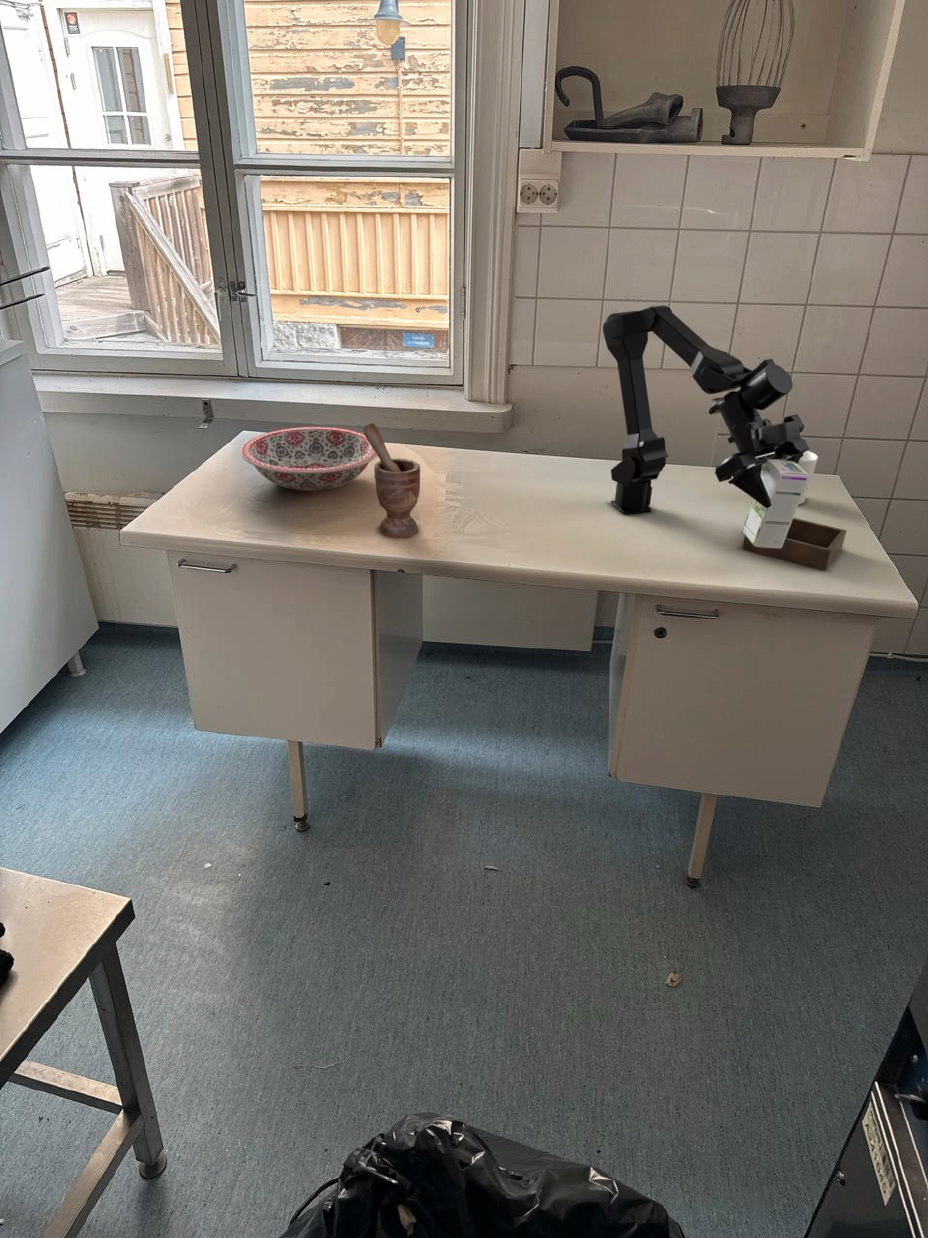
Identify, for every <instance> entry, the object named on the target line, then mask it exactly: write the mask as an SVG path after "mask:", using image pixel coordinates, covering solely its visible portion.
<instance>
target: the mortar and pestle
mask: <svg viewBox="0 0 928 1238" xmlns="http://www.w3.org/2000/svg"><path fill="white" fill-rule="evenodd" d="M362 432H363V434H364V435H365V437H366V438H367V440H368V442H369V443H370V445H371V447H372V448H373V449H374V451H375V452H376V454H377V458H379V461H378V462H376V463H375V464H373V471H374V483H375V484H374V486H375V487H374V488H375V494H376V498H377V501H378V504H379V506H380V507H381V508H382V509H383V510H384V511H385V512H386V515H385V517H384V518H382V519H381V521H380V524H379V531H380V533H382V534H383V535H386V536H389V537H413V535H414V534H416V533H417V531H418V524H417V522H416V520H415V519H414V518H413V517H412V516H411V511H412V510H414V508H415V507H416V505H417V504H418V500H419V496H420V492H421V464H420V463H419V462H417V461H414V460H413V459H407V458H391V455H390V453H389V452H388V449H387V447H386V444H385V441H384V439H383V437H382V434H381V432H380V430H379V428H378V427H377V425H376V423H374V422H370V423H368V424H366V425H364V426H363V427H362Z"/></svg>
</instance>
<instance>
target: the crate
mask: <svg viewBox="0 0 928 1238" xmlns="http://www.w3.org/2000/svg"><path fill="white" fill-rule="evenodd" d="M846 534H847V529H842V528H838V527H834V526H830V525H826V524H822V523H817V522H815V521H814V522H813V521H809V520H805V519H800V518H796V517H793V520H792V523H791V525H790V528H789V530H788V533H787V536H786V538H785V541H784V543H783V546H782V548H781V549H780V548H763V547H756V546H754V545H753V544H752V543H751V542H750V541H749V540H748V538H747V537H746V536H745V535H744V537H743V541H742V547H741V549H742V550H746V551H749V552H753V553H756V554H760V555H764V556H768V557H771V558H775V559H779V560H783V561H787V562H791V563H795V564H798V565H802V566H807V567H810V568H814V569H818V570H821V571H827V569H828V568H830V566H831V564H832V563H833V562H834V560H835V559H836V558H837V556H838V555H839V554H840V553H841V551H842V550H843V547H844V542H845V539H846Z"/></svg>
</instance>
